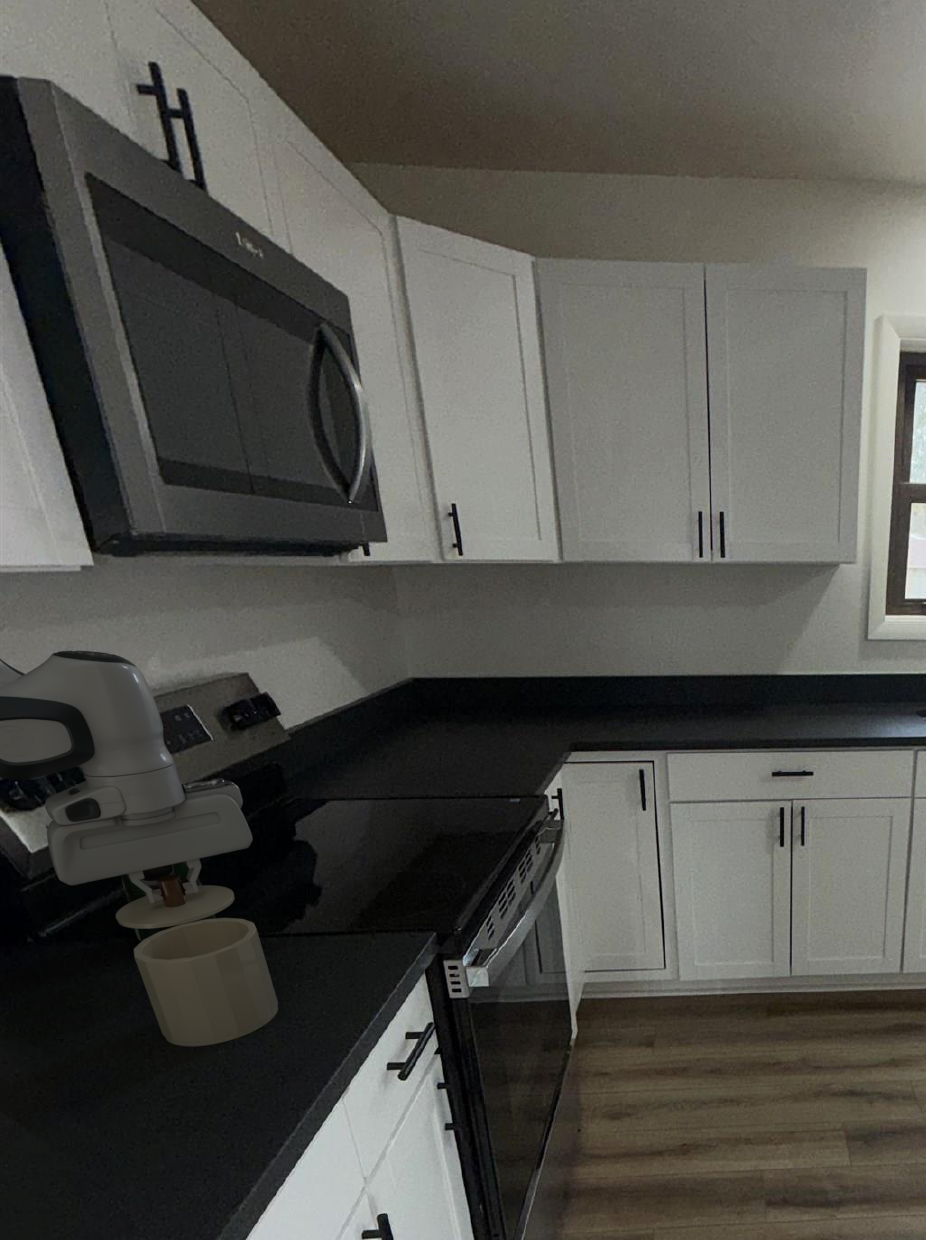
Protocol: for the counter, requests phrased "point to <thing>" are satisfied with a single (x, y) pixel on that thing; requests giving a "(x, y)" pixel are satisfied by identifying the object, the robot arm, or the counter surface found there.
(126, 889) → the coffee jar
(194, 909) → the cream pot lid
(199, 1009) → the cup
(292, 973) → the counter surface
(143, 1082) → the counter surface
